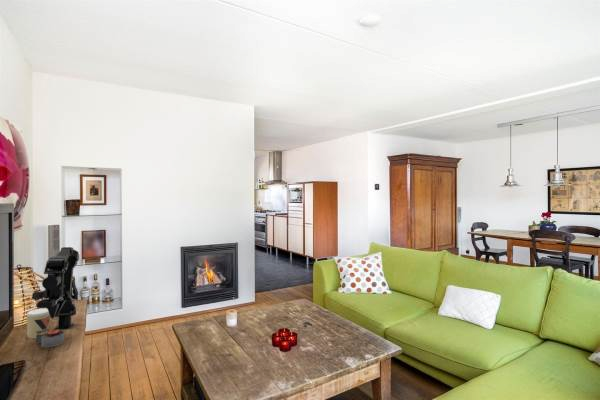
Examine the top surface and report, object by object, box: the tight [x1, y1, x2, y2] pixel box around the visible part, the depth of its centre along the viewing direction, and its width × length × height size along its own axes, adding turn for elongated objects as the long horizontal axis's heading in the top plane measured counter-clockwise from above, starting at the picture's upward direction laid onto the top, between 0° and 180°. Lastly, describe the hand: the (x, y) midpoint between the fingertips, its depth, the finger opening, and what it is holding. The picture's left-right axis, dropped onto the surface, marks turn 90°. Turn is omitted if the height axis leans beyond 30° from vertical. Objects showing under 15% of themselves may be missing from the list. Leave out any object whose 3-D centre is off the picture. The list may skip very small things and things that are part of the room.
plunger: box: [47, 328, 60, 335], centre depth 154 cm, size 4×4×5 cm
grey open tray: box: [35, 330, 65, 348], centre depth 154 cm, size 8×11×4 cm
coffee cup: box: [26, 308, 51, 339], centre depth 163 cm, size 9×9×12 cm
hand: (53, 317), depth 154 cm, fingers open, 2 cm apart
